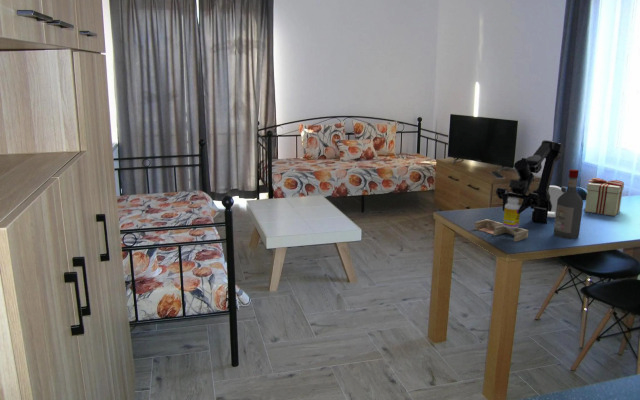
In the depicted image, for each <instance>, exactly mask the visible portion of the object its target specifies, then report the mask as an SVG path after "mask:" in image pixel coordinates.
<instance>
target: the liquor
mask: <svg viewBox="0 0 640 400" xmlns="http://www.w3.org/2000/svg"><path fill="white" fill-rule="evenodd" d="M578 178H579V169H569V171H568V183H567V187H566V192H565V193H563V194H562V195H561V196H560V197H559V198H558V200H557V208H556V217H554V219H555V220H554V224H553V225H554V226H553V234H554V236H555V237H558V238H561V239H563V240H564V239H566V240H572V239H577V238H579V236H580V230H581V223H582V216H583V209H584V202H583V199H582V197H581V196H580V195H579V193H578V192H577V191H578V190H577V184H578V183H577V182H578Z"/></svg>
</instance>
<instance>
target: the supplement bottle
mask: <svg viewBox="0 0 640 400" xmlns="http://www.w3.org/2000/svg"><path fill="white" fill-rule="evenodd" d="M519 202H520V199H519V198H514V197H509V198H508V203H507V204H506V205H505V209H504V211H503V219H502V220H503V226H504V227H506V228H511V229H515V228H520V227H519V226H520V217H521V213H520V214H518V211H519V208H520V207H521V205H520V204H519Z"/></svg>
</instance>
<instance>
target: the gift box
mask: <svg viewBox="0 0 640 400" xmlns="http://www.w3.org/2000/svg"><path fill="white" fill-rule="evenodd" d="M587 182H588V183H587V185H586V198H585V205H584V207H585V208H584V213H585V212H586V213H592V214H598V215H605V216H613V217H615V216H616V215H618V213H619V212H620V210H621V203H622V195H623V191H624V189H625V187H624V186H625V183H624V181H621V180H617V179H615V180H605V179H604V178H599V177H593V178H591V179H588V180H587Z"/></svg>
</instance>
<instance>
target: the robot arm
mask: <svg viewBox="0 0 640 400" xmlns="http://www.w3.org/2000/svg"><path fill="white" fill-rule="evenodd" d="M564 151H565V147H564V146H563V144H562V143H558V142H555V141H553V140H549V139H547V140H546V139H545V140H542V141H541V144H540V145H539V146H538V148H537V149H536V150H535V152H534V153H533V155H531V156H528V157H526V158H525V157H522V158H521V159H519V160H517V161H516V162H515V163H514V164H513V168H514V170H515V172H516V174H517V176H518V179H511V180H510V181H509V182H510V183H509V188H510V191H511V192H510V191H508V189H507V188H504V187H497V188H496V189H495V193H496V195H497V198H498V199H500V200H502V211H503V212H504V209H505V205H506V204H507V203H508V198H518V199H519V200H523V201H522V203H521V205H520V208H519V211H518V214H520V215H521V214H522V213H523V212H524V211H525V210H527V209H528V208H530V209H532V211H531V221H532V223H535V224H548V217H547V215H548V211H551V209H552V204H551V201H550V194H549V191H548V190H549V186H551V182H552V178H553V175H554V170H555V167H556V164H557V161H559V160H560V159H561V157H562V154H563V153H564ZM543 161H544V163H543V164H544V165H543V167H542V162H543ZM541 170H542V172H541V175H540V179H539V183H538V187H537V189H536V190H533V191H532V192H530V190H531V189H530V187H531V184H532V182H535V175H534V174H539V172H540V171H541ZM528 192H529V193H528Z"/></svg>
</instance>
